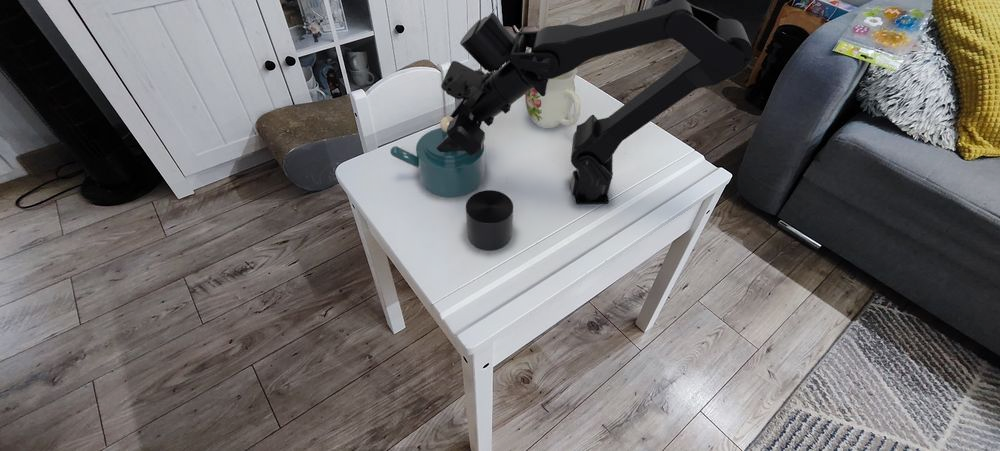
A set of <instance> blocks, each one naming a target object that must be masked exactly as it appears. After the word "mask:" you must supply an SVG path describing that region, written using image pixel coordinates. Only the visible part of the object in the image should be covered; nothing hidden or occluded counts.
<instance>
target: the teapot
mask: <svg viewBox="0 0 1000 451" xmlns="http://www.w3.org/2000/svg"><path fill="white" fill-rule="evenodd" d="M439 128H440V127H438V128H435V129H432V130H430V131H428V132H426V133H425V134H423V135H422V136H421V137H420V138H419V139H418V141H417V143H416V146H415V153H416V155H415V154H414V153H411V152H409V151H408V150H406V149H403V148H402V147H399V146H392V147H391V148H390V152H389V153H390V154H391V156H392V157H394V158H396V159H398V160H399V161H402V162H404V163H406V164H409V165H410V166H413V167H415V168H417V169H418V174H419V180H420V183H421V185H422V187H423V188H424V189H425V190H426V191H427V192H428V193H431V194H433V195H435V196H438V197H443V198H460V197H463V196H468V195H469V194H471V193H473V192H475V191H476V190H478V189H479V188H480V187H481V186H482V185H483V183H484V181H485V180H484V179H485V142H484V143H483V147H482V150H481V151H480V152H479V153H477V154H476V155H474V156H470V155H469V154H466V155H464V156H462V157H459V158H454V159H443V158H439V157H436V156H434V155H432V154H431V153H429V152H428V150H427V149H426V145H425V140H426V138H427V136H428V135H429V134H430V133H431V132H433V131H434V130H436V129H439Z"/></svg>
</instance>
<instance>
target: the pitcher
mask: <svg viewBox="0 0 1000 451" xmlns="http://www.w3.org/2000/svg"><path fill="white" fill-rule="evenodd" d="M529 52H531V48H530V49H528V53H529ZM577 72H578V67H577V68H575V69H574V70H572V71H570V72H568V73H565V74H563V75H561V76H558V77H556V78H553V79H548V83H547V89H546V94H545V96H541V95H540V94H539V93H538V92H537V91H536V90H535V89H534V88H533V89H531V90H530V91H529V92H527V93H526V94H525V95H524V102H525V107H526V110H527V113H528V116H529V117H530V120H532V122H533V123H534V124H535V125H536V126H538V127H540V128H544V129H553V128H555V127H556V128H557V127H558V126H560V125H563V126H567V127H571V126H573V125H575V124H576V123H577V122H578V121H579V119H580V115H581V109H582V108H581V101H580V97H579V95H578V94H577V93H576V85H575V78H576V76H577ZM572 108H573V114H572V117H571V118H570V119H567V117H568V115H569V114H570V112H571V110H572Z"/></svg>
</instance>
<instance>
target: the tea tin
mask: <svg viewBox="0 0 1000 451" xmlns="http://www.w3.org/2000/svg"><path fill="white" fill-rule="evenodd" d="M465 203H466V204H465V216H466V236H467V239H468V241H469V243H470V244H471V245H472V246H473V247H475V248H476V249H479V250H481V251H487V252H492V251H493V252H495V251H498V250H501V249H503V248H505V247H506V246H507V245H508V244H509V243H510V242H511V239H512V235H513V220H514V219H513V218H514V203H513V201H512V199H511V198H510V197H509V196H508V195H507V194H505V193H503V192H502V191H499V190H495V189H494V190H492V189H485V190H481V191H478V192H475V193H474V194H473V195H472V194H471V196H470V197H468V199H467V201H466V202H465Z"/></svg>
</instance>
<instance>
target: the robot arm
mask: <svg viewBox="0 0 1000 451" xmlns="http://www.w3.org/2000/svg"><path fill="white" fill-rule="evenodd" d="M670 39H671V40H674V41H676V42H677V43H679V44H680V45H681V46H683V47H684V48H685V49H686V50H687V51H686V52H685V54H684V56H682V59H680V61H679V62H678V63H677V64H675V66H673V67H672V68H670V69H669V70H668V71H667V72H665V73H664V74H663V75H661V76H660V77H659V78H657V79H656V80H655V81H653V82H652V83H651V84H650V85H648V86H647V87H645V88H644V89H643V90H642V91H640V92H639V93H637V95H635V96H634V97H632V99H631V98H630V100H629V101H627V103H625V104H624V105H622V106H620V108H618V109H617V110H616V111H615V112H613V113H612V114H610V115H609V116H607V117H604V118H597V116H595V114H591V115H590V116H589V117H588V118H587V119H586V120H585V121H584V122H582V123H580V124H577V125H576V129H575V132H574V133H573V137H572V144H571V152H570V155H571V156H570V162H571V165H572V166H573V167H574V168H575V170H573V171H572V175H571V179H570V185H569V187H570V192H571V195H572V196H573V198H574V203H575V204H576V205H608V204H609V203H610V198H609V195H608V194H609V190H610V187H611V183H612V180H613V177H614V172H613V168H614V167H613V166H614V165H613V162H614V161H613V160H614V154H615V152H616V151H617V149H618V148H619V146H620V145H621V143H622V142H624V141H625V140H627V138H629V137H630V136H631V135H633V134H635V133H636V132H637V131H639V130H640V129H642V128H643V127H645V126H646V125H647V124H649V123H650V122H652V121H653V120H654V119H656V118H658V117H659V116H661V115H662V114H663V113H665V112H666V111H667V110H669V109H670V108H671V107H673V106H675V105H676V104H678V103H679V102H680V101H681V100H683V99H684V98H685V97H687V96H688V95H690V94H691V93H693V92H695V91H697V90H698V89H703V88H709V87H713V86H716V85H720V84H721V83H724V82H725V81H727V80H729V79H731V78H733V77H736V76H737V75H739V74H741V73H742V72H743V71H744V70H746V69H747V68H748V66H749V65H750V64H751V59H752V57H753V47H752V44H751V42H750V39H749V37H748V34H747V33H746V30H745V28H744V26H743V24H742V23H741V22H740V21H739V20H737V19H733V18H722V17H720V16H718V15H717V14H715V13H713V12H712V11H710V10H707V9H703V8H701V7H698V6H696V5H694V4H692V3H690V2H689V1H687V0H669V1H668V2H666V3H663V4H659V5H656V6H652V7H649V8H646V9H641V10H639V11H635V12H631V13H628V14H624V15H620V16H617V17H613V18H610V19H607V20H606V19H605V20H602V21H599V22H595V23H593V24H588V25H576V24H569V23H567V24H557V25H549V26H545V27H543V28H541V29H539V30H537V31H536V30H535V31H518V32H516V33H515V35H514V36H513V35H512V34H511V33H510V32H509V30H508V29H507V28H506V27H505V26H504V25H503V23H502V21H500V18H499V17H498V16H497V15H496V14H495V12H491V13H490V14H489V15H487V16H485V17H482V19H478V20H477V21H476V22H475V23H474V24H473V25H472V26H471V27H470V28H469V29H468V31H467V32H465V34H464V35H463V37H462V39H461V40H460V42H459V44H460V46H461V47H462V48H463V49H464V50H465V51H466V52H467V53H468V54H469V55H470V56H471V57H472V58H473V59H474V60H475V62H477V63H478V64H479V65H480V66H481V67H482V68H483V70H484V71H487V72H486V73H485V72H484V71H483V70H474V69H473V68H471V67H469V66H467V65H466V64H465V65H464V64H463V63H461V62H459V61H457V60H452V61H451V63H450V65H449V67H448V69H447V70H446V73H445V76H444V78H443V80H442V82H441V84H440V88H441V89H442V90H443V91H444V92H445V93H446V94H447V95H448V96H450V97H452V98H454V99H456V100H460V101H459V103H458V104H457V105H456V107H455V109H454V110H453V111H452V113H451V114H450V116H451V117H453V118H454V119H453V120H452V121H450V123H449V125H448V128H447V134H448V135H447V136H446V137H445V138H444V139H443V140H442V142H441V143H440V144H439V145H438V146H437V150H438V151H440V152H450V151H466V152H467V153H468V154H469V155H470V156H474V155H476V154H477V153H479V152H480V151H481V150H482V147H483V143H484V144H485V139H486V132H485V131H484V130H483V129H482V128H481V126H482V124H483V123H484V124H485V125H486V126H488V127H490V126H491V125H492V124H493V123H494V120H495V117H497V116H498V115H499V114H501V113H502V112H503V114H505V115H506V114H507V113H509V112H510V111H511V108H512V105H513V104H514V103H515V102H517V101H518V100H520V99H521V98H522V97H524V96H525V94H526V93H527V92H529V91H530V90H531V89H533V88H534V89H535V90H536V91H537V92H538V93H539V94H540V95H541V96H545V94H546V89H547V83H548V79H553V78H556V77H558V76H561V75H563V74H565V73H568V72H570V71H572V70H574V69H575V68H577V69H578V68H579V67H580V66H581V65H582V64H584V63H585V62H588V61H589V60H590V61H591V59H594V58H598V57H603V56H607V55H611V54H615V53H618V52H619V53H620V52H622V51H626V50H630V49H635V48H639V47H642V46H646V45H651V44H654V43H658V42H662V41H666V40H670ZM528 48H530V49H531V52H529V51H528V52H527V49H528ZM493 71H495V72H494V73H493Z"/></svg>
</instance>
